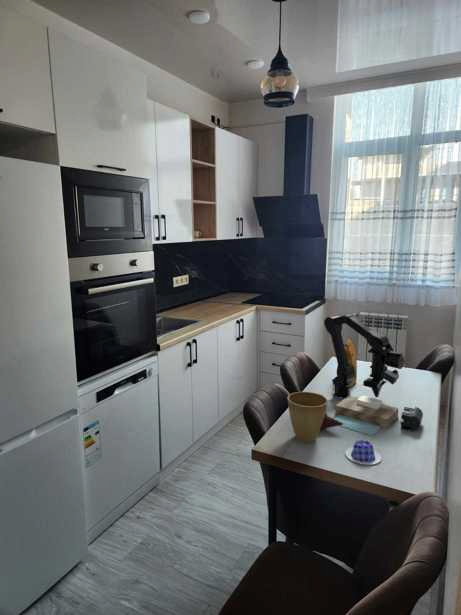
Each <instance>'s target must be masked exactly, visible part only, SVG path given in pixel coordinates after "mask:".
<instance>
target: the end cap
mask: <svg viewBox="0 0 461 615" xmlns="http://www.w3.org/2000/svg"><path fill="white" fill-rule="evenodd" d="M400 416H401V417H400V418H401V420H402V421H401V422H400V429H401V430H405V431H410V432H414V431H416V430H419V428H420V427H421V424H422V421H423V416H424V414H423V411H422V409H421V408H419V407H417V406H415V408H412V407H408V406H403V411H402V412H401V415H400Z"/></svg>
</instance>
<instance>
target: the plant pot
mask: <svg viewBox="0 0 461 615" xmlns="http://www.w3.org/2000/svg"><path fill="white" fill-rule="evenodd" d="M287 405H288V406H287V407H288V412H289V413H288V414H289V418H290V422H291V426H292V430H293V433H294V435H295V438H296V439H297V441H300V442H302V443H312V442H315V440H316V439H317V437H318V435H319V433H320V431H321V429H320V428H321V425H322V422H323V419H324V416H325V413H326V411H327V406H328V399H327V397H326V396H325V395H323V394H320V393H316V392H312V391H311V392H310V391H297V392H293V393H290V394H288V396H287Z"/></svg>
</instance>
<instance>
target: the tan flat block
mask: <svg viewBox="0 0 461 615" xmlns="http://www.w3.org/2000/svg"><path fill="white" fill-rule="evenodd" d="M359 398H360V397H356V396H353V395H350V396H348V397H347V398H345V399H344V398H343V399H342V400H341V401H340V402H338V403H337V404H335V415H337V416H338V415H342V416H346V417H349V418H353V419H356V420H360V421H363V422H366V423H370V424H373V425H377V426H380V427H381V428H383V429H388V428H389V427H390V426H391V425H392V423H394V422H395V421H396V420H397V419H398V418H399V407H396V406H391V405H388V404H385V403H383V404H382V406H381V407H379V408H378V409H374V408H370V407H366V406H363V405H359V404H357V399H359Z"/></svg>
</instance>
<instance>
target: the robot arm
mask: <svg viewBox="0 0 461 615" xmlns="http://www.w3.org/2000/svg"><path fill="white" fill-rule="evenodd" d="M323 324H324V327H325V330H326V332H327V333H328V334H329V335H330V336H331V341H332V345H333V349H334V354H335V358H336V362H337V363H336V364H337V368H336V376H335V377H334V378H332V379H331V382H332V385H334V390H333V391H334V393H333V394H332V397H333V396H334V397H337V398H340V399H343V400H344V399H345V398H347V397H348V396H351V386H349V384H348V383H351V381H352V380H353V379H354V377H355V373H356V372H355V370H354V366H353V365H352V366H351V365H350V364H349V363H348V360H347V356H346V352H345V347H344V345H345V344H344V340H343V336H342V330H343V324H344V325H347V326H348V327H350V328H351V329H352V330H353V331H355V332H356V333H358V334H359V335H360V336H361V337H362V338H364V339H365V340H366V341H367V344H368V345H369V346H370V347H371V348H370V349H368V350H367V353H370V354H371V355H372V358H371V365H370V366H369V368H370V369H371V371H370V372H371V373H369V377H367V378H366V379H364V380H363V381H362V382H363V384H362V385H363V386H364V387H366V388H371V391H372V393H373V395H374V398H378V397H379V396H380V393H381V390H382V387H383V386H384V385H385V384H386V383H387V382H388V383H390V384H391V385H394V384H396V383H397V380H398V379H399V378H400V375H399V370H401V369H403V368H404V365H405V360H406V359H405V357H404V356H403V352H396V351H395V350H394V348H393V346H392V344H391V343H390V340H389V337H387V336H386V335H384V334H382V333H381V332H378V331H374V330H373V329H371V328H369V326H367V325H365V324H364V323H363V322H362V321H360V320H358V319H357V318H355V316H354V315H353V314H344V315H342V316H339V315H331V316H327V317H325V319H324V320H323ZM389 367H391V368H394V370H389V369H388V368H389ZM397 369H398V370H397Z"/></svg>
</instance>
